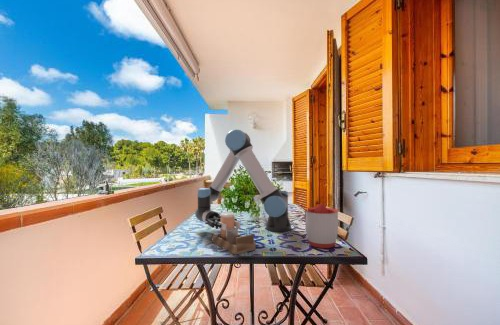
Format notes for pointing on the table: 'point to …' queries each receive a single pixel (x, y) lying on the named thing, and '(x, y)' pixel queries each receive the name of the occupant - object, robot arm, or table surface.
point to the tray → (236, 244)
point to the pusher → (231, 235)
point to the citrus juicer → (321, 226)
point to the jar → (227, 223)
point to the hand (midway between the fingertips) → (232, 226)
